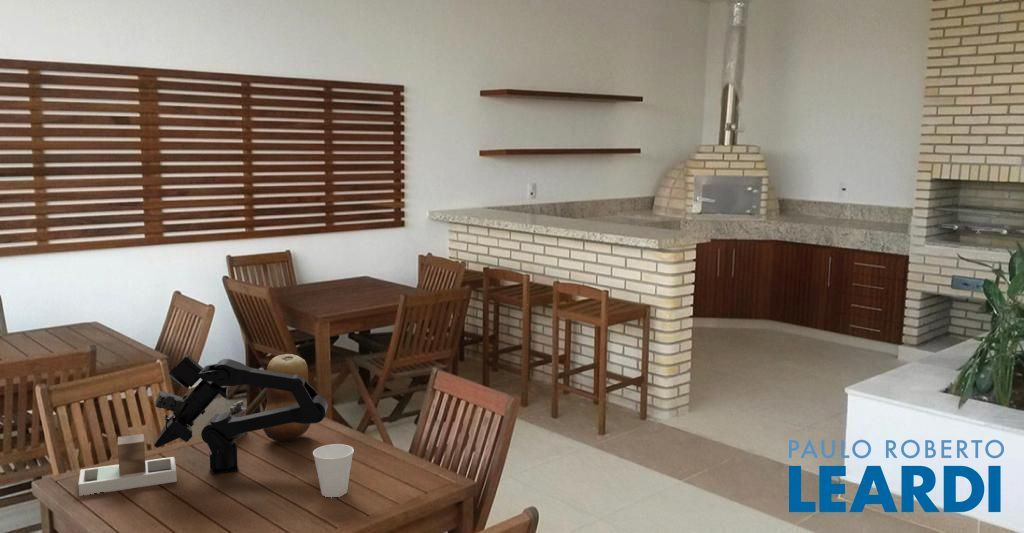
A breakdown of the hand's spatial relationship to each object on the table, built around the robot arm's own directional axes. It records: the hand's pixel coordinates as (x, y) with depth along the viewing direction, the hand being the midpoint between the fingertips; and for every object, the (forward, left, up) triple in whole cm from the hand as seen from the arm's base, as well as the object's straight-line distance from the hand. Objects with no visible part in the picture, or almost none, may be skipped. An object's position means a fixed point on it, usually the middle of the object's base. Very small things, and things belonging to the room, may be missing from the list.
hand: (155, 446), depth 211 cm
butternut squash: (-35, -14, -8) cm, 39 cm away
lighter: (-22, -23, -8) cm, 33 cm away
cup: (-39, +28, -8) cm, 49 cm away
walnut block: (+6, 0, -5) cm, 8 cm away
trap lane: (+7, 0, -8) cm, 10 cm away
